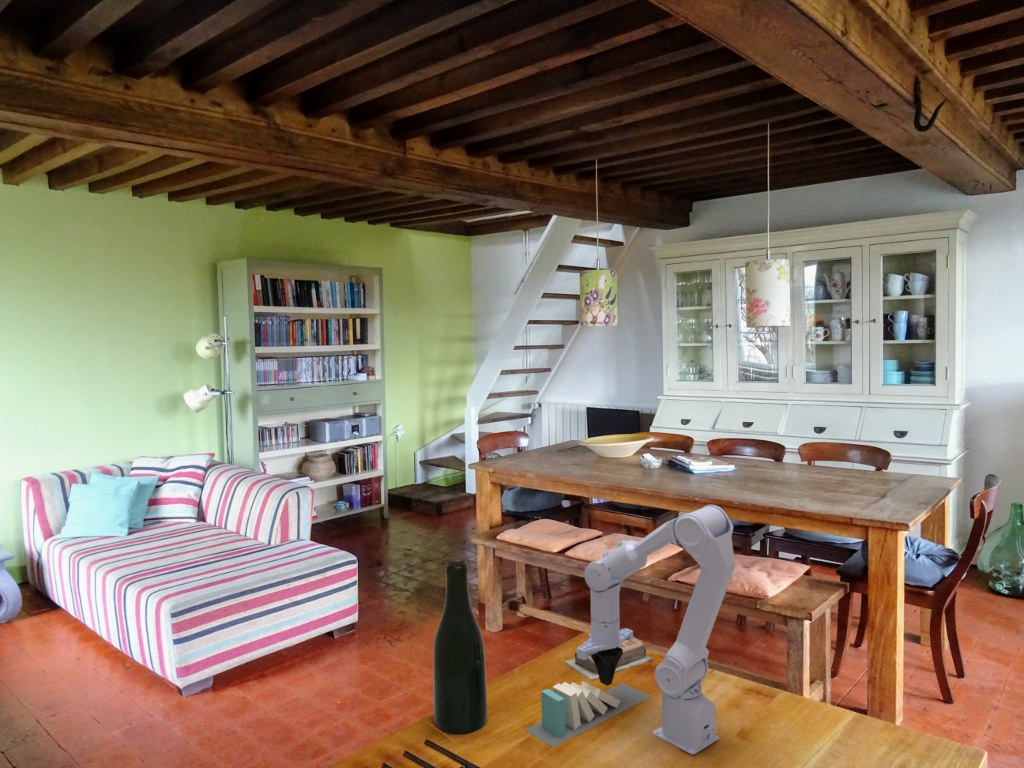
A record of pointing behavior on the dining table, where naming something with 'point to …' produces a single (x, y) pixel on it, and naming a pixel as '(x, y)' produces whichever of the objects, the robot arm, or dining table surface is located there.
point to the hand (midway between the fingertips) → (606, 683)
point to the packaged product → (629, 658)
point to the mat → (620, 692)
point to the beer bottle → (459, 659)
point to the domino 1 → (553, 712)
